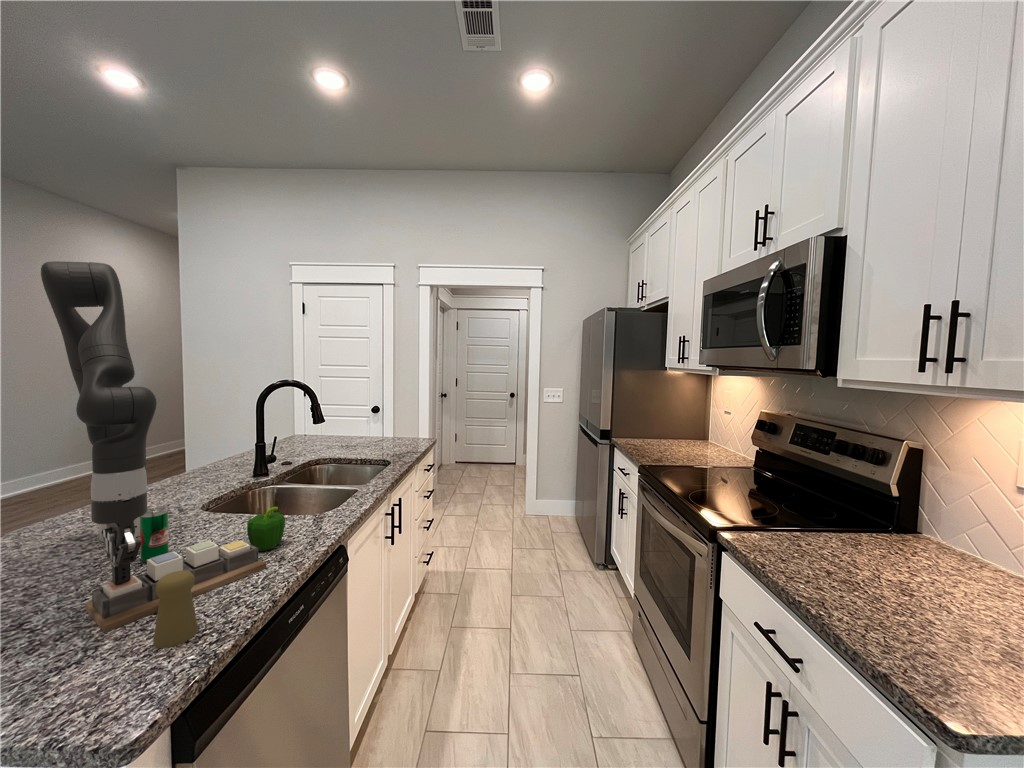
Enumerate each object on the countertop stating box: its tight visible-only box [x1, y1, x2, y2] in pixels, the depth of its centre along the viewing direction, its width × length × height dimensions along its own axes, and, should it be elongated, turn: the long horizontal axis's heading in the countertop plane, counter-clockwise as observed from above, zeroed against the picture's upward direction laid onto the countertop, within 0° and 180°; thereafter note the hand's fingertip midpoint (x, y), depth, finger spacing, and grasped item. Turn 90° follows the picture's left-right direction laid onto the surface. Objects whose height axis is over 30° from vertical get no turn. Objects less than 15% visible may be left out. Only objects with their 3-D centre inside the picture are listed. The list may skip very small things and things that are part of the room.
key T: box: [146, 551, 184, 581], centre depth 81 cm, size 4×4×3 cm
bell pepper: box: [246, 506, 286, 552], centre depth 103 cm, size 8×8×10 cm
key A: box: [185, 540, 220, 567], centre depth 87 cm, size 4×4×3 cm
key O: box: [102, 574, 142, 599], centre depth 76 cm, size 4×4×3 cm
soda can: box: [139, 505, 170, 564], centre depth 95 cm, size 5×5×12 cm
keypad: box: [84, 540, 267, 633], centre depth 84 cm, size 12×27×4 cm, turn 148°
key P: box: [219, 540, 250, 557], centre depth 92 cm, size 4×4×3 cm
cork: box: [152, 570, 199, 649], centre depth 69 cm, size 6×6×11 cm
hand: (121, 582), depth 76 cm, fingers closed
